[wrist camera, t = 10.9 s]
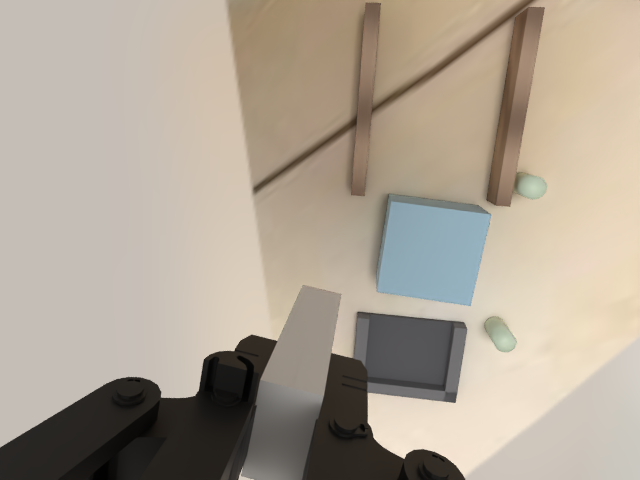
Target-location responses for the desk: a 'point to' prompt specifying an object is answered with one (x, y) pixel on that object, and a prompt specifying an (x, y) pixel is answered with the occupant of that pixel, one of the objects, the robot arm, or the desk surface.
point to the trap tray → (411, 355)
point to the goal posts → (495, 326)
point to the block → (431, 249)
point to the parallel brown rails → (511, 108)
